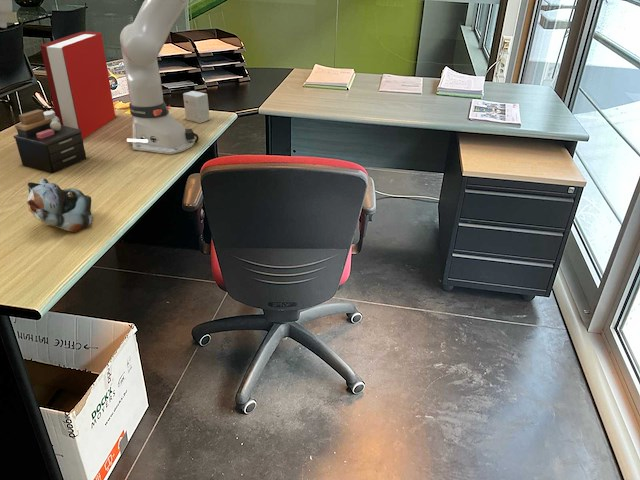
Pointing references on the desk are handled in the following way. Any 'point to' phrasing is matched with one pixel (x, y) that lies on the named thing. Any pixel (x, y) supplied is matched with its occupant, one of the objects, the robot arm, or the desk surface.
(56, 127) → the egg
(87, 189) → the desk surface
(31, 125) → the brush
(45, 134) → the eraser
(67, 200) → the lucky cat figurine
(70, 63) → the book
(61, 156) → the cabinet
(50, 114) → the pill bottle
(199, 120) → the small box
